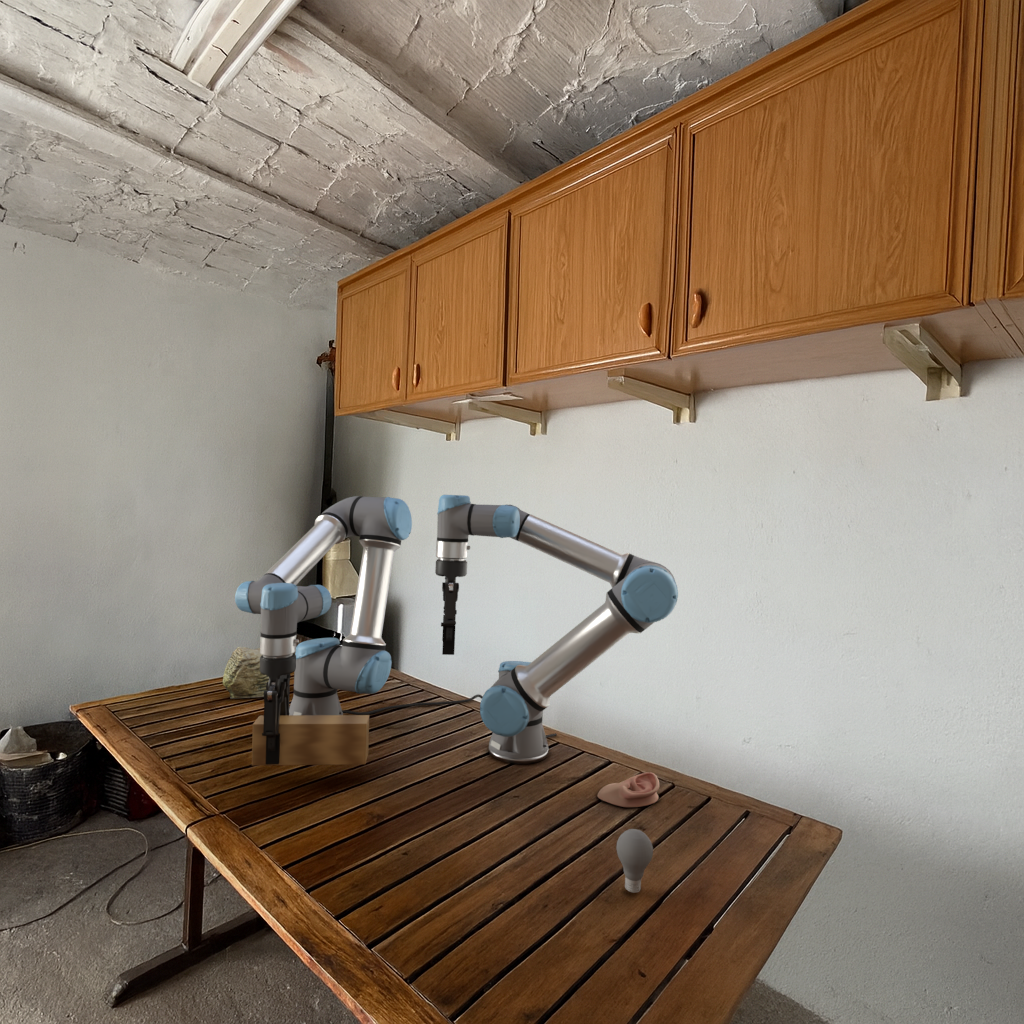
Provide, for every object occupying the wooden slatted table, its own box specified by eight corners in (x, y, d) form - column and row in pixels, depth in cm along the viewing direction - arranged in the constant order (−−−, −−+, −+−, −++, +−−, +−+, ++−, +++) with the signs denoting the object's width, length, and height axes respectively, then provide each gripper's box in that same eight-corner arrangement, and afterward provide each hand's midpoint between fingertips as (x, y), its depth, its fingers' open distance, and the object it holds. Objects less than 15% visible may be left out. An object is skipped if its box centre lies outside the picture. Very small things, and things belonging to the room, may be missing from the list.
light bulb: (610, 879, 108) (613, 822, 108) (644, 879, 109) (647, 822, 109) (619, 902, 102) (622, 840, 102) (655, 901, 103) (658, 840, 103)
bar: (251, 765, 137) (252, 724, 137) (258, 755, 143) (259, 715, 142) (365, 764, 140) (366, 723, 140) (368, 754, 145) (369, 714, 145)
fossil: (218, 695, 195) (220, 647, 195) (278, 685, 208) (279, 640, 207) (228, 703, 189) (230, 653, 188) (289, 692, 201) (290, 645, 201)
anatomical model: (597, 785, 136) (600, 763, 147) (596, 803, 136) (599, 780, 147) (660, 793, 133) (659, 771, 144) (659, 812, 133) (658, 788, 144)
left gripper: (285, 666, 131) (283, 776, 132) (304, 643, 149) (302, 740, 150) (247, 666, 130) (245, 776, 131) (271, 643, 148) (269, 741, 149)
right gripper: (469, 565, 140) (465, 660, 140) (465, 554, 164) (462, 636, 165) (435, 564, 139) (431, 660, 139) (436, 553, 164) (433, 635, 164)
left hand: (276, 757), depth 141 cm, fingers closed on bar, 5 cm apart
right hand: (447, 647), depth 152 cm, fingers open, 13 cm apart
